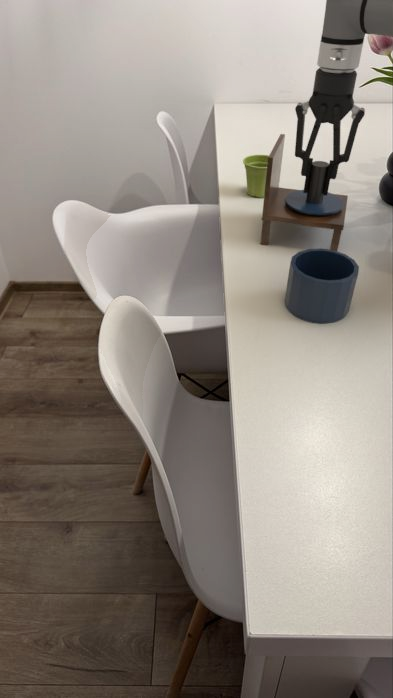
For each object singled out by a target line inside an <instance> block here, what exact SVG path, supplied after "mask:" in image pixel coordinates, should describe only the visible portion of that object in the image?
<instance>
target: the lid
mask: <svg viewBox="0 0 393 698" xmlns="http://www.w3.org/2000/svg"><path fill="white" fill-rule="evenodd" d="M329 163H330V162H327V161H323V160H315V161H314V160H313V162H312V166H311V172H310V178H309V184H308V190H307V193H303V192H304V189H297V190H298V191H294V192H291V193H289V194H288V195H287V196H286V198H285V203H286V205H287V206H288V207H290V208H291V209H293V210H295V211H298V212H301V213H305V214H310V215H329V214H334V213H336V212H339V211H340V210H341V209H342V208H343V205H344V204H343V201H342V199H341V198H339V197H338V196H336V195H334V194H335V193H331V192H329V191H328V193H327V196H326V195H324V189H325V184H326V178H327V173H328V168H329Z"/></svg>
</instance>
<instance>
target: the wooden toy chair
mask: <svg viewBox="0 0 393 698" xmlns="http://www.w3.org/2000/svg"><path fill="white" fill-rule="evenodd" d="M285 138H286V134H285V133H280V134H279V136H278V138H277V140H276V142H275V144H274V146H273V148H272V150H270V153H269V154H268V155H269V157H268V164H267V174H266V184H265V194H264V197H263V205H262V215H261V220H262V226H261V234H260V235H261V236H260V245H264V246H268V245H269V243H270V234H271V226H272V225H271V224H272V222H275V223H283V224H290V225H297V226H305V227H312V228H313V227H314V228H321V229H327V230H333V231H332V236H331V242H330V246H329V250H334V251H337V252H338V251H339V250H338V249H339V245H340V241H341V235H342V232H343V231H344V228H345V227H344V226H345V220H346V213H347V205H348V199H349V198H348V197H349V195H347V194H337V193H333V194H334V195H336V196H338V197H339V198H341V199H342V201H343V204H344V205H343V208H342V209H341V210H340V211H339V212H336V213H334V214H329V215H310V214H305V213H301V212H298V211H295V210H293V209H291V208H290V207H288V206H287V205H286V203H285V198H286V196H287V195H288V194H289V193H291V192H294V191H298V190H299V189H295V188H285V187H280V180H281V179H280V178H281V172H282V164H283V163H282V162H283V157H284V156H283V155H284V147H285V146H284V145H285Z"/></svg>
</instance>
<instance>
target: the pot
mask: <svg viewBox="0 0 393 698" xmlns="http://www.w3.org/2000/svg"><path fill="white" fill-rule="evenodd" d="M359 271H360V266H359V265H358V263H357V262H356V261H355V259H353V258H352V257H351V256H349V255H348V254H346V253H343V252H340V251H338V250H337V251H334V250H330V248H329V249H328V248H323V247H321V248H308V249H304V250H301V251H297V252H296V253H295V254H293V256H291V259H290V263H289V269H288V276H287V282H286V283H287V284H286V289H285V295H284V306H285V307H286V309H287V310H288V312H289V313H290V314H292V315H293V316H294V317H296V318H298V319H300V320H303V321H306V322H309V323H313V324H332V323H337V322H339V321H341V320H342V319H344V318H345V317H346V316H347V315H348V313H349V312H350V308H351V304H352V300H353V295H354V292H355V289H356V284H357V280H358V276H359V273H360V272H359Z"/></svg>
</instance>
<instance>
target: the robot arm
mask: <svg viewBox="0 0 393 698" xmlns="http://www.w3.org/2000/svg"><path fill="white" fill-rule="evenodd" d="M366 35H376V36H382V37H387V38H388V37H389V38H393V0H325V9H324V17H323V24H322V32H321V37H320V43H319V47H318V56H317V62H316V65H317V66H318V67H319V68H317V69H316V71H315V76H314V81H313V83H314V84H313V88H312V94H311V96H310V97H309V98H308V99H309V100H307V101H305V102H297V104H296V105H295V108H294V111H295V114H296V119H297V121H296V132H295V133H296V134H295V135H296V136H295V146H294V157H296V158H298V159H300V160H302V163H301V170H300V176H302V177H305V179H304V186H303V190H304V192H303V193H307V190H308V184H309V178H310V172H311V166H312V162H314V158H312V157H311V154H312V151H313V148H314V146H315V143H316V140H317V137H318V135H319V131H320V128H321V125H322V124H327V123H328V124H331V125H332V130H333V131H332V132H333V133H332V146H333V147H332V159H330V160H329V162H328V163H329V168H328V173H327V178H326V184H325V189H324V195H326V196H327V193H328V192H329V188H330V184H331V182H330V181H331V180H336V179H337V176H338V169H339V166H340V164H342V163H348V162H349V161H350V156H351V154H352V149H353V146H354V142H355V139H356V135H357V131H358V128H359V125H360V123H361V122H362V121H363V120H362V119H363V118H364V117H365V114H366V110H365V108H364V107H359V106H358V105H356V104H355V101H354V98H353V97H354V92H355V88H356V87H355V86H356V82H357V76H358V73H357V71H356V69H358V68H359V66H360V62H361V57H362V51H363V47H364V41H365V36H366ZM309 108H310V110H311V112H312V114H313V116H314V118H315V121H314V124H313V127H312V129H311V133H310V137H309V138H308V142H307V145H306V148H305V150H304V149H303V145H304V133H305V122H306V115H307V114H308V112H309ZM350 112H351V115H350V117H351V119H352V121H351V125H350V129H349V133H348V137H347V141H346V144H345V148H344V152H343V153H341V124H342V122H341V121H342V120H344V118H345V117H346V116H347V115H348V114H349V113H350Z"/></svg>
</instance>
